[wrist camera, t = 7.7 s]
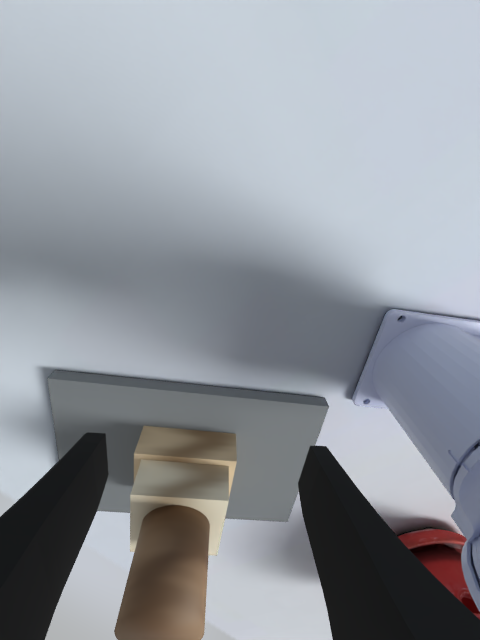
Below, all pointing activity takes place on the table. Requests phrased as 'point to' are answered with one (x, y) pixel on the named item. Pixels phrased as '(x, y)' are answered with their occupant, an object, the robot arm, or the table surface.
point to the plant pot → (442, 560)
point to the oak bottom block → (186, 447)
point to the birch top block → (180, 494)
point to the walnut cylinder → (167, 578)
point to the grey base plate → (192, 414)
